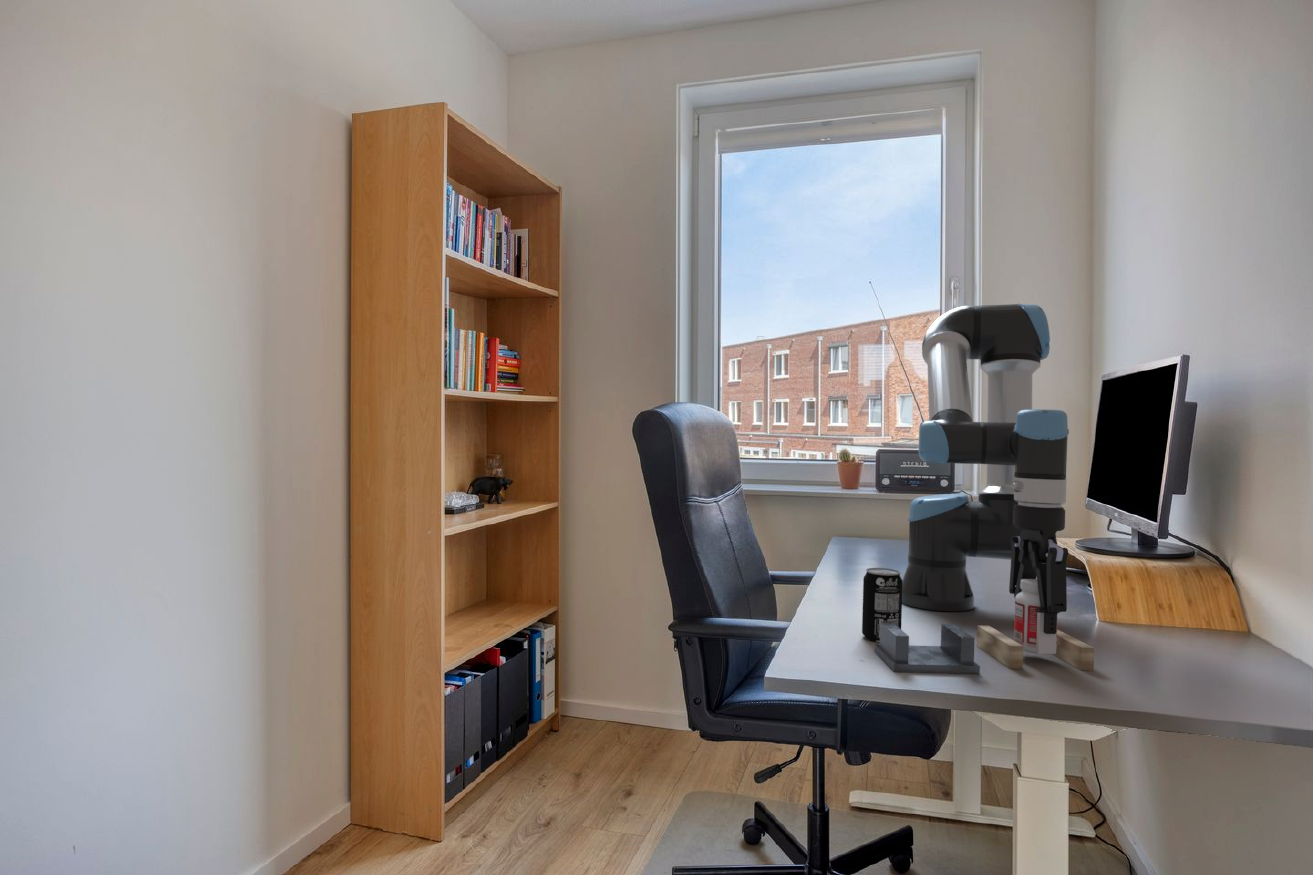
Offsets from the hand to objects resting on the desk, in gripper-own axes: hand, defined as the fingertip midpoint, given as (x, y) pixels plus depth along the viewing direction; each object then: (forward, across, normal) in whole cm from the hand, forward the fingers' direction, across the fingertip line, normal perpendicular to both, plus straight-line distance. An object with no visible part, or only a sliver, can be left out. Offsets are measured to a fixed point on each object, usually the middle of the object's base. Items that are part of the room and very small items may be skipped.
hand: (1034, 646), depth 120 cm
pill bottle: (+1, 0, 0) cm, 1 cm away
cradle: (+2, +3, -19) cm, 19 cm away
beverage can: (+2, -10, -22) cm, 24 cm away
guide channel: (+2, -1, 0) cm, 2 cm away
